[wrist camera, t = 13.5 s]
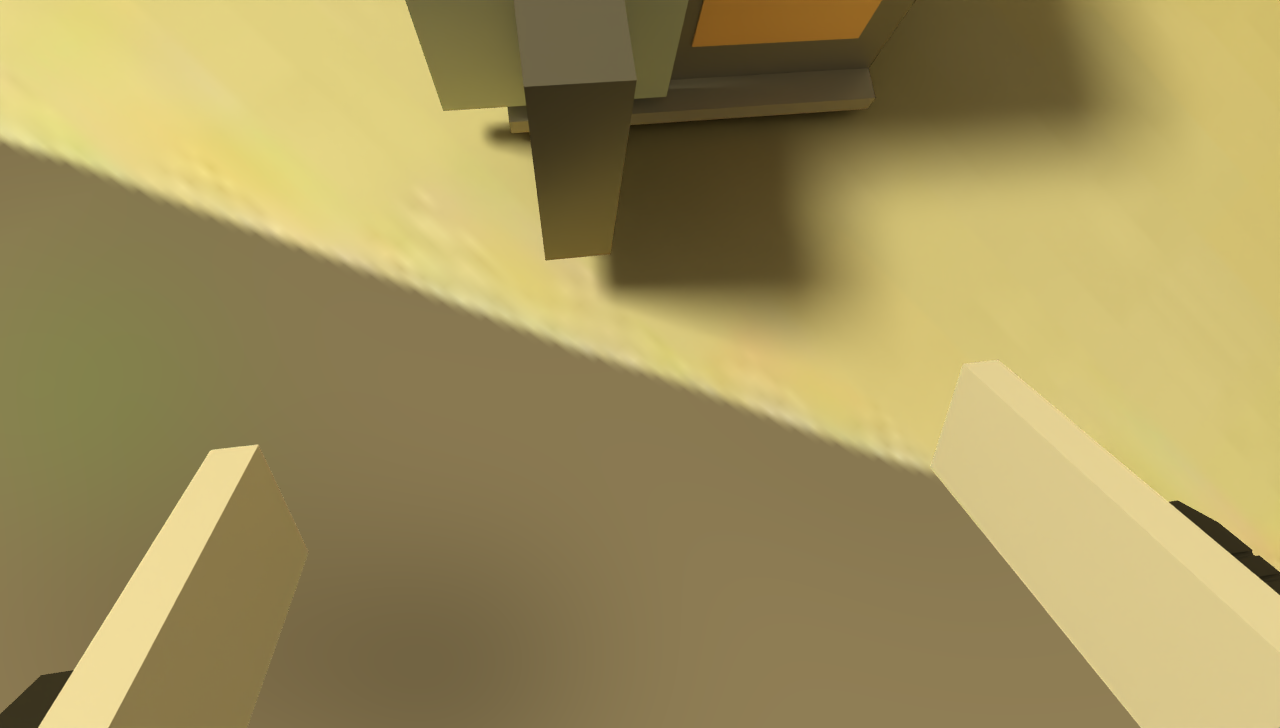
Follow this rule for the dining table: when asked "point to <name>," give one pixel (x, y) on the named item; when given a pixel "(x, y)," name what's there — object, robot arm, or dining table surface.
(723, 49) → the camera box
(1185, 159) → the dining table surface
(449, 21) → the door
